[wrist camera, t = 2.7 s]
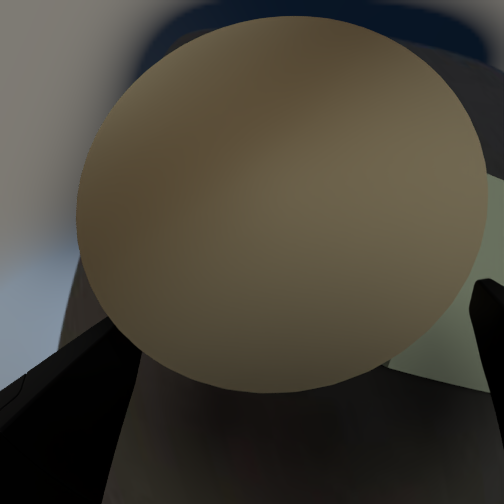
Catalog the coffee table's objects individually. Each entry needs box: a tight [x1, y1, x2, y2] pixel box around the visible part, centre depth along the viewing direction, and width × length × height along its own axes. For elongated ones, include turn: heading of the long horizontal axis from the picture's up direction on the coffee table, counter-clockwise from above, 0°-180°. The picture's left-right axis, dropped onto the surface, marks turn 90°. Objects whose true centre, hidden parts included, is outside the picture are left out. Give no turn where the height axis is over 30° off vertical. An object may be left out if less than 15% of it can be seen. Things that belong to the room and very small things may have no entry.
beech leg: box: [76, 16, 488, 393], centre depth 11 cm, size 6×6×15 cm
